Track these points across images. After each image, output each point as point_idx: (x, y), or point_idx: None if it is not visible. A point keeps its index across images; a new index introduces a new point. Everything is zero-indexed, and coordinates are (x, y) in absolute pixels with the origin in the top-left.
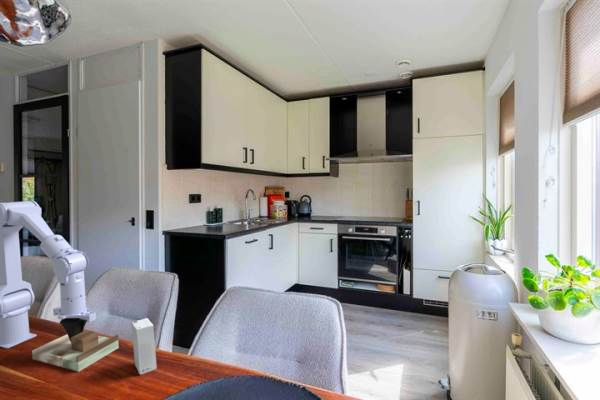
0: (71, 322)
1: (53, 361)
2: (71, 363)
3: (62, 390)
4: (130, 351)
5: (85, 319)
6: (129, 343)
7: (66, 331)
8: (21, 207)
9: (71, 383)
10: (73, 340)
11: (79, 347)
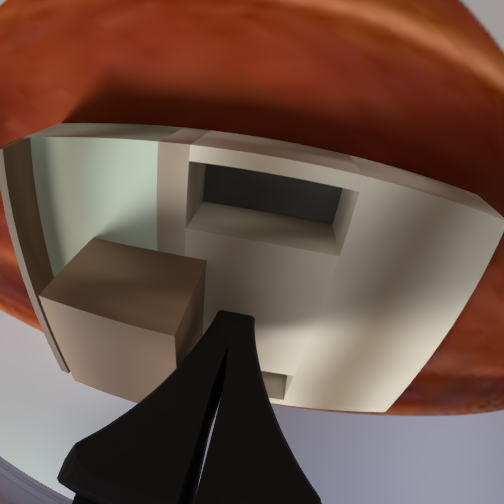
0: (66, 485)
1: (277, 145)
2: (80, 132)
3: (21, 6)
4: None
5: (12, 469)
6: None
7: (263, 404)
8: None
9: (22, 49)
10: (152, 311)
11: (110, 262)
